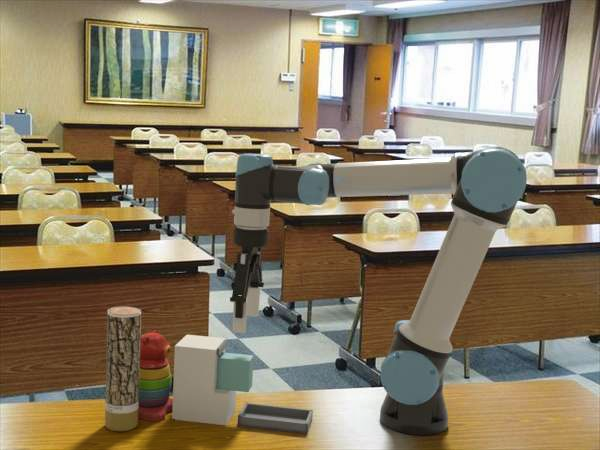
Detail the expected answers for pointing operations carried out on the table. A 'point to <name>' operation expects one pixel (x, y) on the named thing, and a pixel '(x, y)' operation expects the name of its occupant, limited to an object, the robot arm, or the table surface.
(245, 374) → the teal block
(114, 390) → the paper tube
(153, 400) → the stacking bear
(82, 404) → the table surface
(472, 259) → the robot arm
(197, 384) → the dispenser
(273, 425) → the tray
